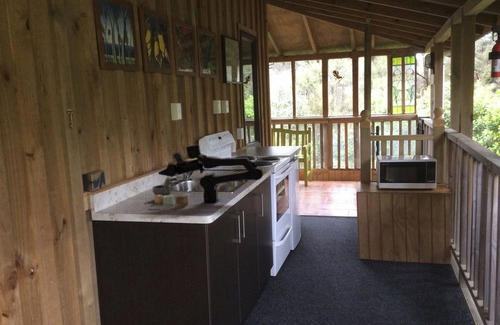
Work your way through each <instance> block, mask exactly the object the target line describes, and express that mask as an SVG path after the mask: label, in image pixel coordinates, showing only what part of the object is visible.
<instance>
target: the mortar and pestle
mask: <svg viewBox="0 0 500 325" xmlns="http://www.w3.org/2000/svg"><path fill="white" fill-rule="evenodd" d="M171 178H172V177H170V176H166V178H165V181H164V183H163V184H161V185H154V186H152V193H153V195H154V196H155V195H162V196H168V195H171V192H172V185H171V181H172V179H171Z"/></svg>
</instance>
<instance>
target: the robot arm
mask: <svg viewBox="0 0 500 325" xmlns="http://www.w3.org/2000/svg"><path fill="white" fill-rule="evenodd" d="M200 146H201V145H200V144H199V143H198V144H192V145H191V144H190V145H188V146H185V150H186V153H187V158H189V159H190V160H186V158H185V157H184V156H183V154H182V152H181V151H177V152H175V153H174V154H172V157H173V158H174V160H175V161H176V163H170V164H168V165H167V167H166V168H164V169H162V170H159V171H158V172H157V173H158V175H162V176H165V177H169V178H172V177H177V176H179V175H185V174H187V173H192V172H198V171H199V172H200V174H201V175H202V174H203V173H204V172H205V170H206V169H207V170H208V169H214V168H218V167H229V166H230V167H237V166H239V167H240V166H242V167H244V169H246V170H245V171H244V170H243V171H240V172H232V173H226V174H225V173H224V174H219V175H218V174H215V172H211V173H207V172H206V173H205V174H204V176H202V177H201V178H200V179H199V185H200V186H201V188H202V189H203V193H202V195H203V196H202V197H203V203H207V204H208V203H209V204H211V203H213V204H215V203H217V202H219V200H220V198H219V192H218V186H219V184H223V183H229V182H236V181H242V180H249V181H258V180H259V181H260V180H261V179H262V178H263V176H264V174H265V172H264V169H263V167H261V166H257V164H255V163H254V162H253V161H251V159H249V157H247V156H245V157H218V156H213V155H212V156H210V155H209V156H207V155H205V154H203V153H202V152H201V148H200Z"/></svg>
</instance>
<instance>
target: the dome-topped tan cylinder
mask: <svg viewBox="0 0 500 325" xmlns="http://www.w3.org/2000/svg"><path fill="white" fill-rule="evenodd" d="M154 205H163V196H162V195H155V194H154Z"/></svg>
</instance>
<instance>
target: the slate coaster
mask: <svg viewBox="0 0 500 325" xmlns="http://www.w3.org/2000/svg"><path fill="white" fill-rule="evenodd" d="M170 207H171V205H163V204H162V205H155V204H154V205H152V206H150V207H149V208H148V211H165V210H167V209H168V208H170Z"/></svg>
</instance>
